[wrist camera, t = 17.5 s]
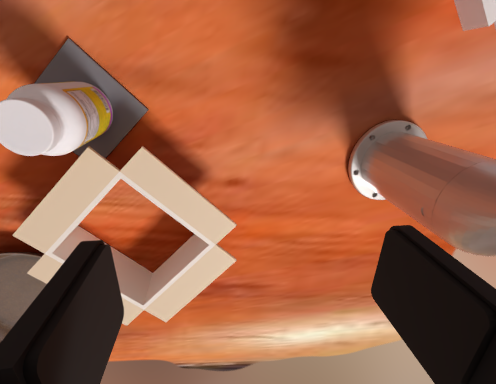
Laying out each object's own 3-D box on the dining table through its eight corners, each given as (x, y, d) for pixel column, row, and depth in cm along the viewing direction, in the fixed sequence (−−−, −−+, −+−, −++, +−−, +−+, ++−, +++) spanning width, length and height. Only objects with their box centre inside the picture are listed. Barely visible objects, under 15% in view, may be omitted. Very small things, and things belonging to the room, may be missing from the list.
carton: (250, 217, 43) (257, 242, 37) (157, 302, 48) (148, 337, 41) (129, 112, 35) (110, 120, 28) (29, 227, 39) (-6, 256, 33)
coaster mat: (148, 109, 35) (147, 110, 35) (97, 167, 37) (95, 168, 37) (69, 38, 31) (68, 38, 31) (17, 108, 33) (15, 109, 33)
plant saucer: (133, 292, 46) (127, 307, 43) (55, 354, 50) (45, 372, 47) (19, 215, 39) (3, 227, 36) (-64, 295, 42) (-85, 312, 39)
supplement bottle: (53, 125, 34) (-30, 151, 22) (61, 72, 32) (-26, 70, 20) (109, 143, 36) (59, 177, 24) (120, 94, 33) (71, 104, 22)
